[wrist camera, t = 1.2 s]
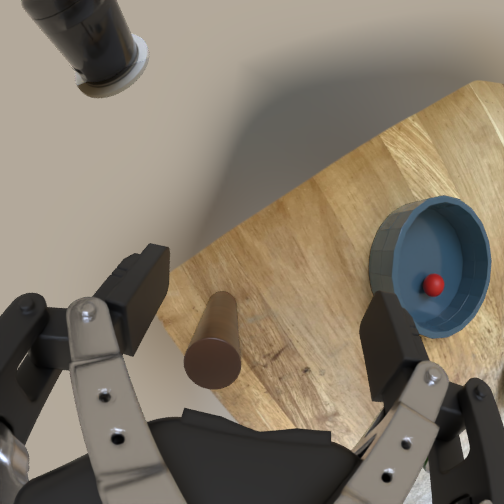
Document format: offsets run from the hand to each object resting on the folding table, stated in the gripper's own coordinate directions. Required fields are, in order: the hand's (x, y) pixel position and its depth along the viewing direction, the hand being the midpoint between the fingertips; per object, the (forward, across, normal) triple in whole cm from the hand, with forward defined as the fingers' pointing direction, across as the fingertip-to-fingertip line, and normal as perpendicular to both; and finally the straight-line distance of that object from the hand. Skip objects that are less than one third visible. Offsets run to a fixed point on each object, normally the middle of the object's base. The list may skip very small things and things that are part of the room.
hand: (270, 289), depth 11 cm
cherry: (+20, -22, +10) cm, 32 cm away
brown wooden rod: (+17, +3, +16) cm, 23 cm away
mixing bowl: (+23, -21, +9) cm, 32 cm away
